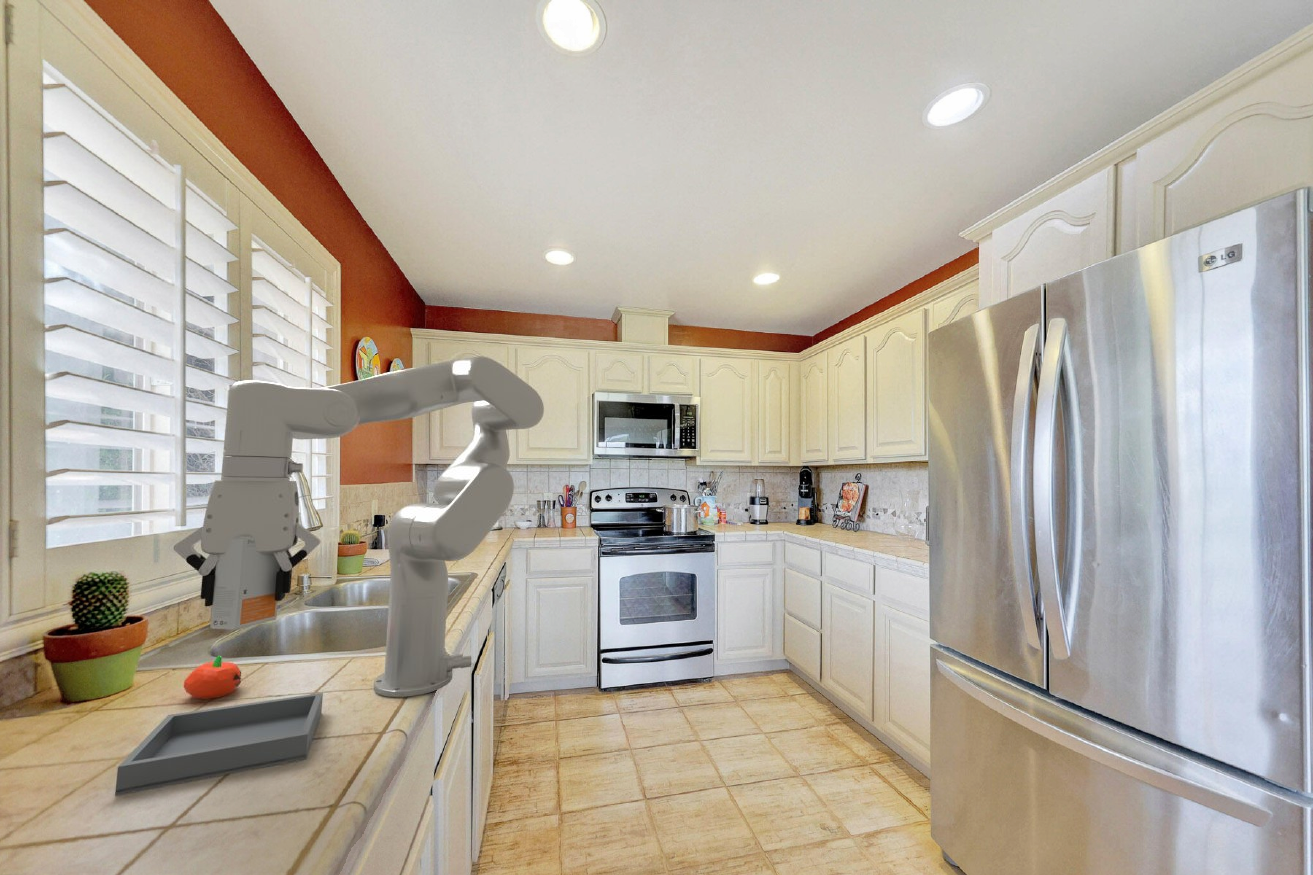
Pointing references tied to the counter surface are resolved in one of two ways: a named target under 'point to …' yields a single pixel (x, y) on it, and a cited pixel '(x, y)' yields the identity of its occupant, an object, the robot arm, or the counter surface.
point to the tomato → (213, 679)
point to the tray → (221, 742)
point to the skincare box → (244, 586)
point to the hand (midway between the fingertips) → (246, 600)
